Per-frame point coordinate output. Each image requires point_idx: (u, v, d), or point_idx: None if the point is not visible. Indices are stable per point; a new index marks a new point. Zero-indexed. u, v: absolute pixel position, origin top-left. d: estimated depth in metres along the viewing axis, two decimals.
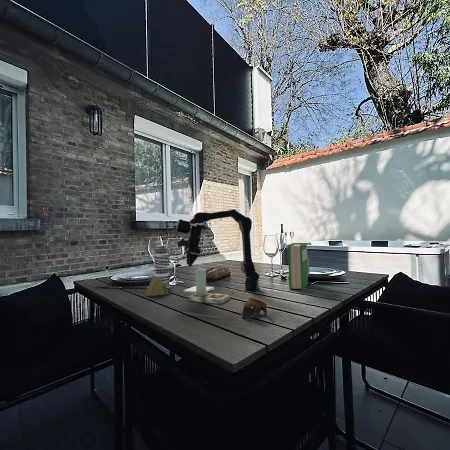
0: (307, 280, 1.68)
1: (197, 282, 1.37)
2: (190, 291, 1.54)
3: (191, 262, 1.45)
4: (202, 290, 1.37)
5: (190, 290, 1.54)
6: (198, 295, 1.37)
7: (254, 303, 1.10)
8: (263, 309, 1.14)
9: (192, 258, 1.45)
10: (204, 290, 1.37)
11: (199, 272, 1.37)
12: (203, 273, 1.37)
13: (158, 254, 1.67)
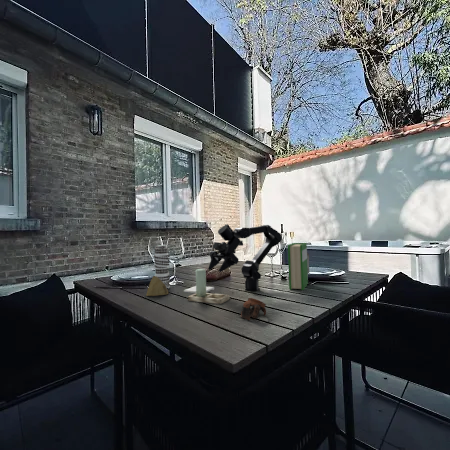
0: (307, 280, 1.68)
1: (197, 282, 1.37)
2: (190, 291, 1.54)
3: (223, 268, 1.41)
4: (202, 290, 1.37)
5: (190, 290, 1.54)
6: (198, 295, 1.37)
7: (253, 303, 1.10)
8: (262, 309, 1.14)
9: (226, 265, 1.41)
10: (204, 290, 1.37)
11: (199, 272, 1.37)
12: (203, 273, 1.37)
13: (158, 254, 1.67)
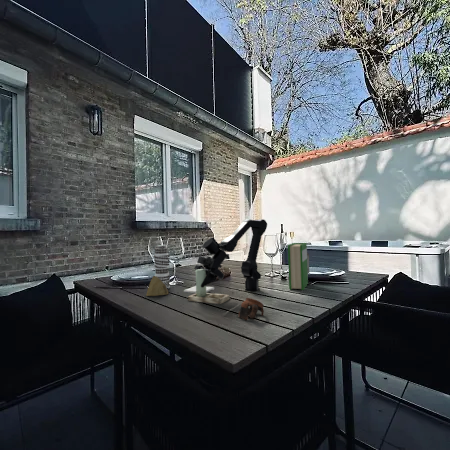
0: (307, 280, 1.68)
1: (197, 282, 1.37)
2: (190, 291, 1.54)
3: (205, 283, 1.37)
4: (202, 290, 1.37)
5: (190, 290, 1.54)
6: (198, 295, 1.37)
7: (251, 303, 1.10)
8: (260, 309, 1.14)
9: (208, 280, 1.37)
10: (204, 290, 1.37)
11: (199, 272, 1.37)
12: (203, 273, 1.37)
13: (158, 254, 1.67)
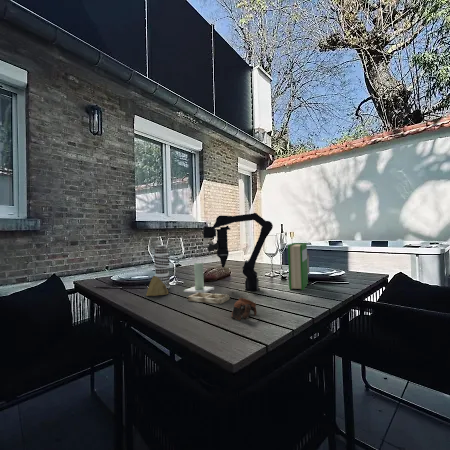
0: (307, 280, 1.68)
1: None
2: (190, 291, 1.54)
3: (223, 263, 1.55)
4: (197, 280, 1.56)
5: (190, 290, 1.54)
6: (195, 285, 1.57)
7: (244, 303, 1.10)
8: (253, 309, 1.15)
9: (223, 259, 1.55)
10: (199, 281, 1.56)
11: (195, 265, 1.57)
12: (198, 266, 1.56)
13: (158, 254, 1.67)
